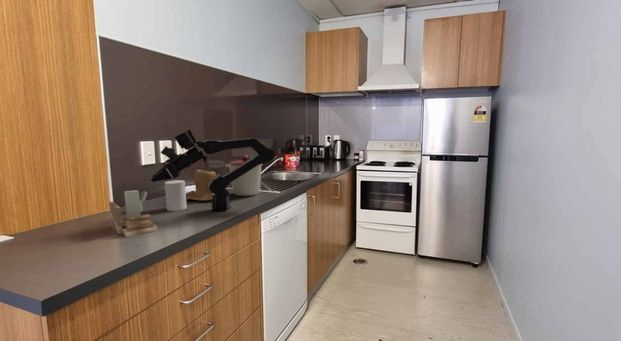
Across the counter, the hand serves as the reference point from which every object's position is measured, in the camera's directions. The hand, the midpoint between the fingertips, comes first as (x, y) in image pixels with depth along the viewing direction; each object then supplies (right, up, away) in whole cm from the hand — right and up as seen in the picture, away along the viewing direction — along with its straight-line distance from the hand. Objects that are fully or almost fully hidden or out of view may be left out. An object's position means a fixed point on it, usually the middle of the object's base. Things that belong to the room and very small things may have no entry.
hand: (152, 179), depth 125 cm
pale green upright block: (-1, -17, -10) cm, 20 cm away
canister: (+29, -10, +44) cm, 53 cm away
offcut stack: (+4, -17, -16) cm, 23 cm away
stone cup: (+9, -11, +33) cm, 36 cm away
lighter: (-11, -14, +12) cm, 22 cm away
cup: (+3, -14, +15) cm, 21 cm away
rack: (0, -17, -12) cm, 21 cm away
